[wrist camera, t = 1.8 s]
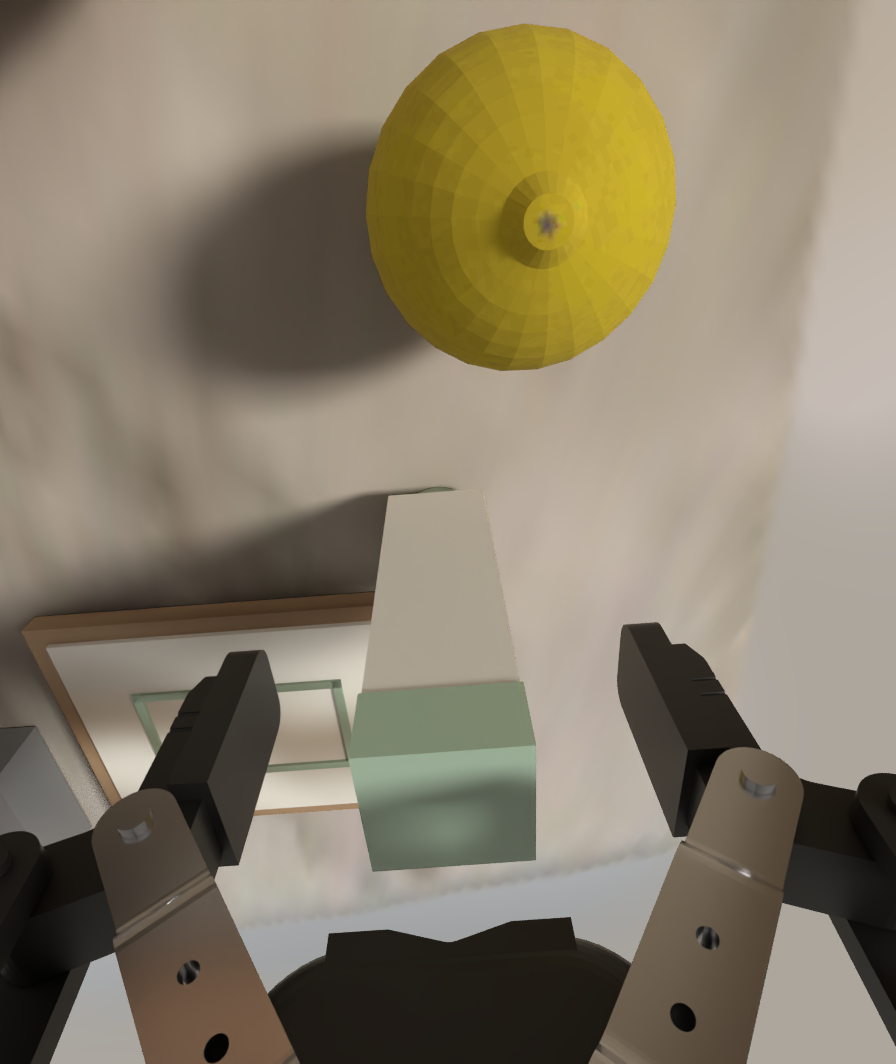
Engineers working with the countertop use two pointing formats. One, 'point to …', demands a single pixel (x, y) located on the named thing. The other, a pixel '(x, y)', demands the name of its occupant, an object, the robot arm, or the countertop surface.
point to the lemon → (520, 197)
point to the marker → (442, 697)
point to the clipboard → (199, 651)
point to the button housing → (35, 790)
